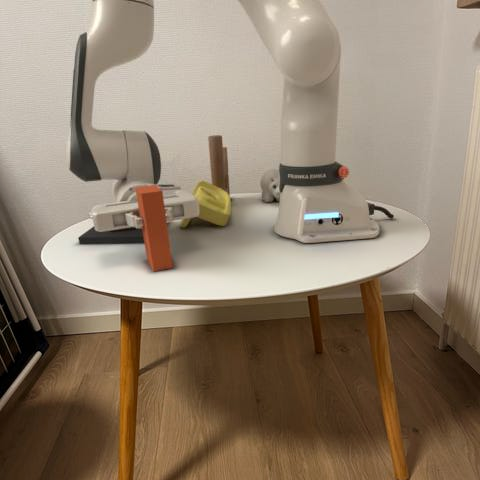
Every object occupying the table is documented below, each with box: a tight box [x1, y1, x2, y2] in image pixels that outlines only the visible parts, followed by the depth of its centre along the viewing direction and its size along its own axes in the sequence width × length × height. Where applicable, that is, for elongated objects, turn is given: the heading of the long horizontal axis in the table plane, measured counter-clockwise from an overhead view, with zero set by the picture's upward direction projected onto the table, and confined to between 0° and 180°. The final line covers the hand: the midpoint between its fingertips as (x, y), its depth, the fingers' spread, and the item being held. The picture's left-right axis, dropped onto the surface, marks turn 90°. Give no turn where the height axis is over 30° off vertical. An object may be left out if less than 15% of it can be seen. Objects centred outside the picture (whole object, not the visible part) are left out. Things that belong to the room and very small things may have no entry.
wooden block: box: [207, 134, 231, 196], centre depth 117 cm, size 4×11×18 cm, turn 175°
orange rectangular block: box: [135, 185, 174, 272], centre depth 78 cm, size 6×4×14 cm, turn 22°
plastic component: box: [179, 180, 232, 228], centre depth 108 cm, size 20×7×10 cm
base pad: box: [77, 226, 145, 245], centre depth 100 cm, size 16×16×4 cm
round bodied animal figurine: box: [260, 168, 280, 203], centre depth 117 cm, size 7×12×8 cm, turn 5°
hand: (154, 221), depth 77 cm, fingers closed on orange rectangular block, 3 cm apart
